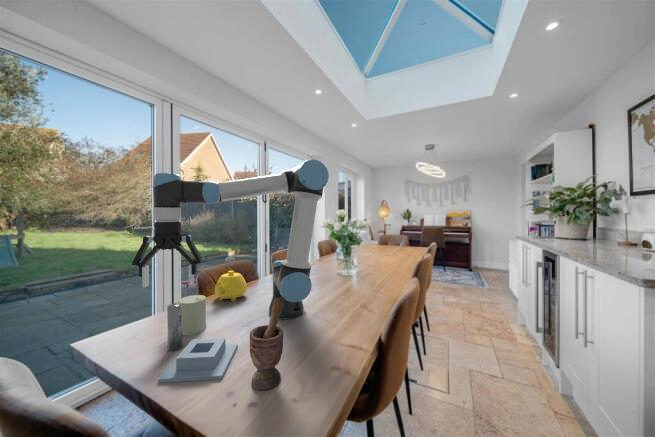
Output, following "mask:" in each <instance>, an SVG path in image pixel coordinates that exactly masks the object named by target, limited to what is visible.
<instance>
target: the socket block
mask: <svg viewBox="0 0 655 437" xmlns="http://www.w3.org/2000/svg"><path fill="white" fill-rule="evenodd" d="M238 347H239V343H226V338H225V337H222V338H198V339H197V338H195V339H191V340H190V342H189V343H188V344H187V345H186V346H185V348H183V350H182V351H181V352H180V353H179V355H177V357H176V358H175V359H174V360H173V361H172V362H171V364H169V366H168V367H167V368H166V369H165V371H164V372H163V373H162V374H161V375H160V376H159V378H158V379H157V383H158V384H163V383H164V384H165V383H179V382H180V383H181V382H182V383H183V382H198V381H201V382H202V381H215V380H217V381H218V380H223V378H224V376H225V374H226V372H227V370H228V368H229V367H230V365H231V362H232V360H233V358H234V356H235V353H236V351H237V350H238Z"/></svg>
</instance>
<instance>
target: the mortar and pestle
mask: <svg viewBox="0 0 655 437" xmlns="http://www.w3.org/2000/svg"><path fill="white" fill-rule="evenodd" d="M283 304H284V300H283V299H280V298H276V299H275V300H274V302H273V306H272V312H271V316H270V318H269V323H268V324H263V325H260V326H257V327H254V328H253V329H252V330H251V331H249V356H250V358H251V359H250V360H251V363H252V365H253V367H255V368H256V369H257V370H256V371H255V372H254V373H253V375H252V377H251V386H252V388H253V389H254V390H255V391H256V390H257V391H258V390H259V391H262V390H263V391H264V390H267V391H268V390H270V389H274V388H275V387H277V386H278V385H279V383H280V381H281V379H282V376H281V373H280V371H279V370H278V368H276V366H278V365H279V363H280V360H281V358H282V354H283V351H284V350H283V349H284V330H283V328H281V327H280V326H278V325H277V324H278V321H279V320H280V319H279V316H280V313H281V311H282V308H283Z"/></svg>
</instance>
